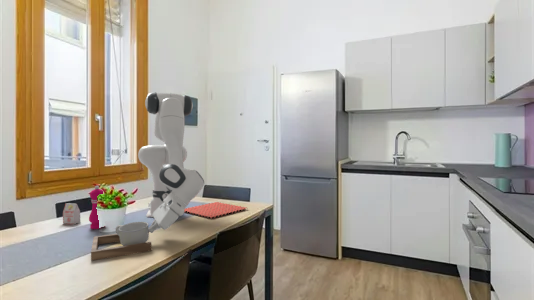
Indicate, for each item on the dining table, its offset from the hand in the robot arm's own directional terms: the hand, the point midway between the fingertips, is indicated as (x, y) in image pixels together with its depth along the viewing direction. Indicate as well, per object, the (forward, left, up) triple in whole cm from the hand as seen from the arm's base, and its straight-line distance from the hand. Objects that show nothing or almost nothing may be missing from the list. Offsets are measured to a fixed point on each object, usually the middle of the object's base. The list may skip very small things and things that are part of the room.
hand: (149, 231), depth 121 cm
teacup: (-1, -6, -5) cm, 8 cm away
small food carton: (-51, -31, -5) cm, 60 cm away
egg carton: (-42, +40, -6) cm, 58 cm away
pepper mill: (-36, -19, -5) cm, 41 cm away
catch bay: (0, -9, -5) cm, 11 cm away
